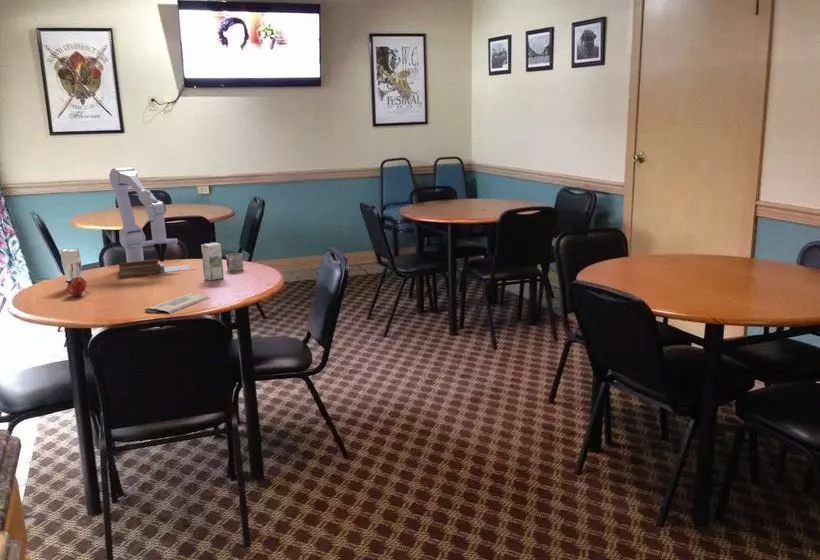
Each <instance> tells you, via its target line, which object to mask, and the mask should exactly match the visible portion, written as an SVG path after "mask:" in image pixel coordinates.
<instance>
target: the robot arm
mask: <svg viewBox="0 0 820 560" xmlns="http://www.w3.org/2000/svg"><path fill="white" fill-rule="evenodd" d="M108 176H109V180H110V184H111V188H112V189H113V191H114V194H115V197H116V203H117V205H118V210H119V213H120V214H119V215H120V217H121V223H122V225H123V226H122V228H121V229H120V230H119V231H118V234H119V235H118V236H119V243H120V245H121V246H122V247H123V248H124V251H125V257H126V263H127V262H136V261H145V257H144V251H143V249H144V247H149V246H150V247H153V248H154V249H155V251H156V253H157V256H158V257H159V262H161V263H163V262H164V261H165V260H164V259H165V255H166V250H167V248H168V245H172V244H178V243H179V242H178V238H167V232H166V223H165V215H166V212H167V206H166V205H165V203H164V201H161V200H159V199H157V197H156V196H154V194H153V193H152V191H151V190H149V189H146V188H145V187H144V185H143V184H142V182H141V180H139V178H138V172H137V170H136V169H135V168H134V167H133V166H128V167H119V168H115V167H114V168H112V169H111V170H110V172H109V174H108ZM129 187H131V188H132V189H133V191H135V192H136V193H137V195H138V196H137V199H138V200H139V201H140V202H141V203H142V205H143V206H144V207H145V208H146V209H145V212H146V214H147V217H148V221H150V230H151V240H146V235H145V233H144V231H143V228H142V226H140V225H138V224H137V223H136V219H135V215H134V211H133V208H132V204H131V199H130V196H129V192H128V189H129Z"/></svg>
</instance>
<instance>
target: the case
mask: <svg viewBox="0 0 820 560" xmlns="http://www.w3.org/2000/svg"><path fill="white" fill-rule="evenodd" d="M158 260H159V259H157V258H156V259H147V260H145V259H144V261H136V262H127V261H126V262H120V263H118V268H119V275H120V279H122V278H123V277H125V278H131V276H133V277H141V276H140V275H142V276H149V274H151V275H159V274H158V273H160V274H162V273H161V271H160V264H161V263H159V261H158ZM123 279H124V278H123Z"/></svg>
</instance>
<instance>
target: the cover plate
mask: <svg viewBox="0 0 820 560" xmlns="http://www.w3.org/2000/svg"><path fill="white" fill-rule="evenodd" d="M159 264H160V272H166V273H171V272H170V271H174V272H179V271H178V270H179V269H180V270H181V269H182V268H183V269H182V270H183V271H189V270H188V269H190V268H188V267H190V266H188V265H189V264H185V265H184V264H183V265H175V266H174V265H173V266H165V265H164V263H159ZM182 266H183V267H182ZM187 266H188V267H187ZM181 267H182V268H181ZM194 268H195V267H194Z"/></svg>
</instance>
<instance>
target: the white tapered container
mask: <svg viewBox="0 0 820 560" xmlns="http://www.w3.org/2000/svg"><path fill="white" fill-rule="evenodd" d="M60 258H61V259H60V260H61V261H60V262H61V265H62V268H63V272H64V275H65V277H66V278H65V279H66V281H70V280H72V279H73V278H75V277H81V278H82V259H81V253H80V249H79V248H69V249H63V250H60ZM67 285H68V283H67V282H66V286H67Z"/></svg>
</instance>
